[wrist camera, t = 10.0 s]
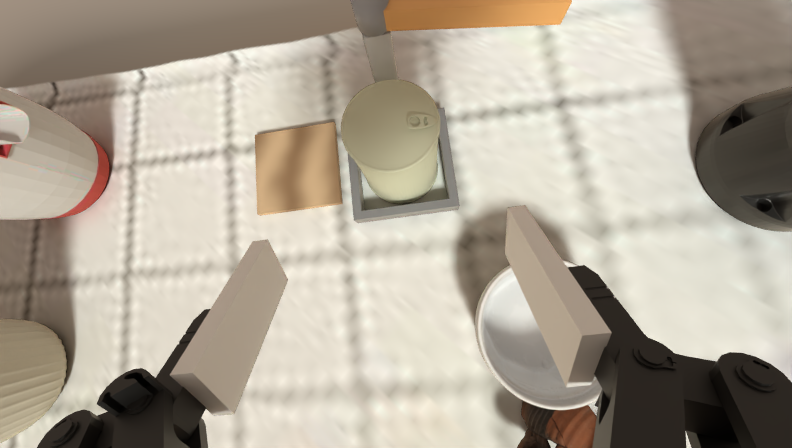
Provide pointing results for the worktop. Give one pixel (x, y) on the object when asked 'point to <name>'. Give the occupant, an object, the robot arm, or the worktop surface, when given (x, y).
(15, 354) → the canister
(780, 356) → the worktop surface
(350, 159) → the socket
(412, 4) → the orange bar
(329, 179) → the plate
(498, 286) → the ramekin
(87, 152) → the citrus juicer
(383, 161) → the can
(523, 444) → the pottery mug
